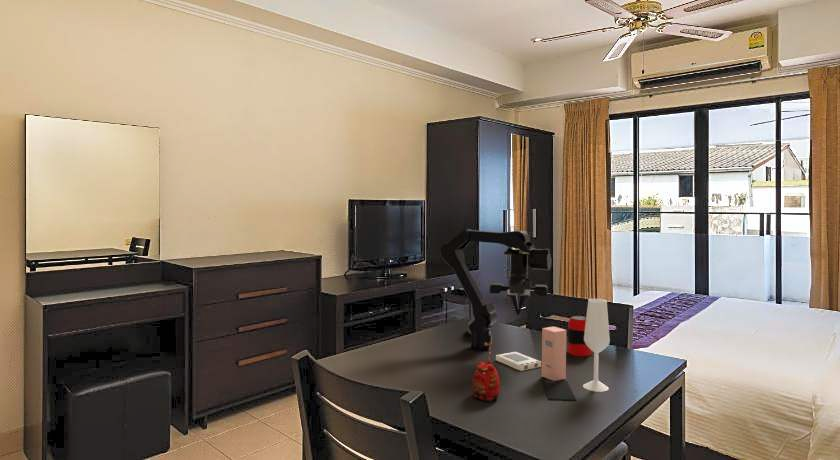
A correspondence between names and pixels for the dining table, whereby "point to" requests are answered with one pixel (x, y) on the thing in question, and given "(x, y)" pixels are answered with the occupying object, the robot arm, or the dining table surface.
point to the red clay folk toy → (486, 380)
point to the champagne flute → (596, 337)
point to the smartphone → (558, 390)
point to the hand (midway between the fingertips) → (518, 314)
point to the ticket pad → (518, 361)
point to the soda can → (577, 337)
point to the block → (554, 353)
